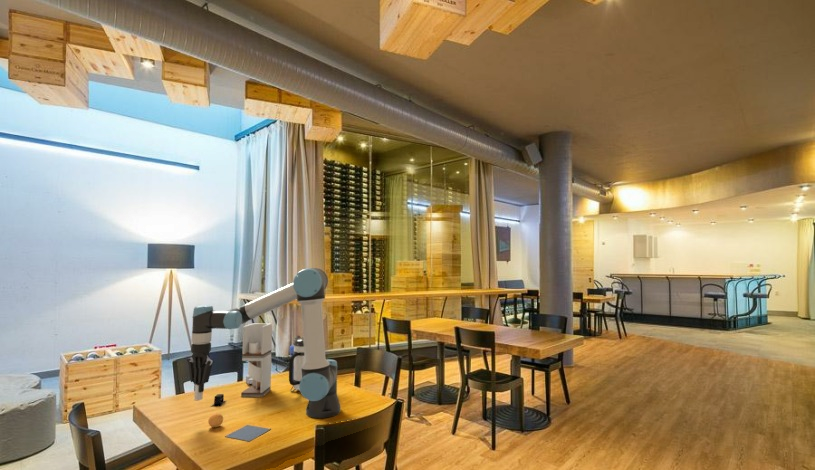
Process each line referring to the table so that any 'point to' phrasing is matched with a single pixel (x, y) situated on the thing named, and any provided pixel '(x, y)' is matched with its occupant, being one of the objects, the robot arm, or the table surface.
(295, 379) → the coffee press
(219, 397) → the black recessed block
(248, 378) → the charger
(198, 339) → the robot arm
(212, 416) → the ball
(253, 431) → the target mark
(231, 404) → the table surface
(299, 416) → the table surface
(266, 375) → the wooden cubby shelf
